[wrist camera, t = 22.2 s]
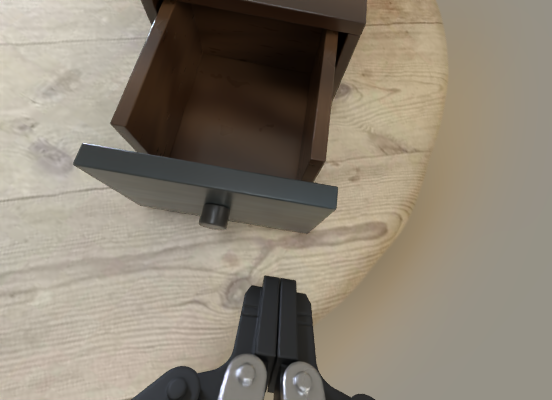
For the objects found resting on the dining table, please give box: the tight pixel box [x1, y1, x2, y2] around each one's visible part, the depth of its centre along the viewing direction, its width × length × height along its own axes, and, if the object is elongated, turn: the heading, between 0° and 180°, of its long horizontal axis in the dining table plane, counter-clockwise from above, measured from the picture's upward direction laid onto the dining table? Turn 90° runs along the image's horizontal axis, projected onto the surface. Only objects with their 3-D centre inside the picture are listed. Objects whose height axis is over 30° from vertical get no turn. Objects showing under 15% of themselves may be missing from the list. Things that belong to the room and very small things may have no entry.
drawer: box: [73, 0, 339, 234], centre depth 17 cm, size 16×12×7 cm
